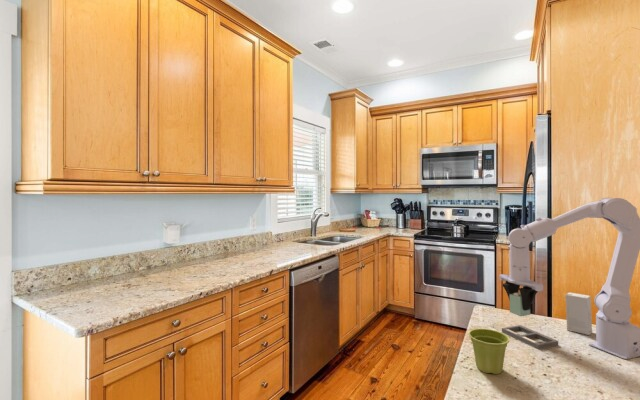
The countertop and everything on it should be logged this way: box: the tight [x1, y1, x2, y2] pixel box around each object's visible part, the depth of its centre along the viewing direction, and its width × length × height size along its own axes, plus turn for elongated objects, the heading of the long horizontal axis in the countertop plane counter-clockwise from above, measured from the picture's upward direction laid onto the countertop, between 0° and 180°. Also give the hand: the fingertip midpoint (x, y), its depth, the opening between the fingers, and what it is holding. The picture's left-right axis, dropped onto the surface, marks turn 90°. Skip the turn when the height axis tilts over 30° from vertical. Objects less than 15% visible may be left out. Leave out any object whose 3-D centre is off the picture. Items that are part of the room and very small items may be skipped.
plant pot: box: [468, 328, 510, 375], centre depth 85 cm, size 9×9×9 cm
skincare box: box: [565, 291, 593, 336], centre depth 107 cm, size 6×4×12 cm
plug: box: [509, 291, 531, 317], centre depth 106 cm, size 4×4×7 cm
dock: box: [501, 324, 559, 350], centre depth 103 cm, size 13×8×1 cm, turn 17°
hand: (520, 307), depth 106 cm, fingers closed on plug, 4 cm apart
